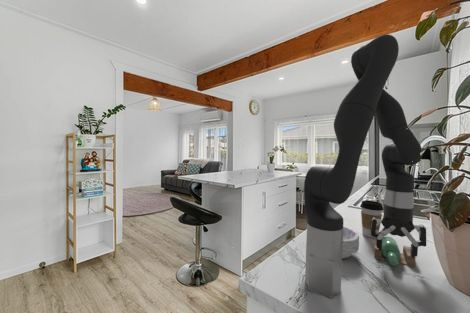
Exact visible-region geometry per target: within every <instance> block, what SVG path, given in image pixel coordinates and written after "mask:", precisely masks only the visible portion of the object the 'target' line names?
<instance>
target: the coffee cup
mask: <svg viewBox="0 0 470 313" xmlns="http://www.w3.org/2000/svg"><path fill="white" fill-rule="evenodd" d="M360 208H361V211H360V214H361V228H362V230H361V232H362V236H364V237H367V238H372V239H377V238H376V237H373V236H371V224H372V218H373V217H375V218H376V219H380V220H382V218H383V214H382V212H383V211H384V206H383V204H382V203H381V202H378V201H375V200H362V201H361V204H360ZM380 228H381V223H380V224H379V225H378V226H376V233H379V232H380Z"/></svg>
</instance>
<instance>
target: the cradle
mask: <svg viewBox="0 0 470 313" xmlns="http://www.w3.org/2000/svg"><path fill="white" fill-rule="evenodd" d="M376 241H377V239H373V255H374V259H375V258H376V259H380V260H384V261H388V262H389V260H388V259H386V258H385V257H384V255H383V252H382V251H380V250H379V248H377V246H376ZM410 252H411V246H409V245H408V246H406V245H403V249H402V252H400V254H401V257H400V259H399V260H398V264H401V265H404V266H405V265H406V266H410V267H414V268H415V267H416V256H415V258H412V257H411V255H410Z"/></svg>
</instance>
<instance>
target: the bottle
mask: <svg viewBox="0 0 470 313" xmlns="http://www.w3.org/2000/svg"><path fill="white" fill-rule="evenodd" d="M382 252H383V255H384V257H385V258H386V259H388V260H389V261H388V260H387V261H388V262H389V264H390V265H391V266H393V267H394V266H398V265H399V263H398V260H399V259H400V257H401V254H400V253H401V251H400V249H399V245H398V243H397V241H396V239H395V238H394V237H392V236H384V237H383V238H382Z"/></svg>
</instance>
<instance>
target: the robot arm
mask: <svg viewBox="0 0 470 313" xmlns="http://www.w3.org/2000/svg"><path fill="white" fill-rule="evenodd" d="M399 48H400V47H399V42H398V40H397V38H396V37H395V36H394V35H392V34H382V35H380V36H377V37H375V38H373V39H371V40H370V41H368V42H367V43H365V44H363V45H362V46H360V47H358V48H357V49H356V50H354V51H353V53H352V55H351V58H350V64H351V68H352V70H353V72H354V75H355V77H356V79H357V82H356V84H355V85H354V86H353V87H352V88H351V89H350V90H349V92H348V93H347V94H346V95H345V96H344V98H343V99H342V100H341V103H340V104H339V106H338V109H337V113H336V114H335V117H334V120H333V131H334V133H335V137H336V140H337V144H338V154H337V156H336V157H337V158H336V162H335V164H334V166H333V167H332V166H331V167H330V166H321V165H316V166H312V167H311V168H309V169H308V171H307V173H306V174H305V178H304V183H303V184H304V185H303V193H304V194H303V195H304V196H303V197H304V201H303V202H304V212H305V216H306V240H305V241H306V242H305V244H306V245H305V246H306V247H305V248H306V250H305V277H304V278H305V279H304V280H305V284H306V286H307V291H310V292H313V293H316V294H318V295H319V294H320V295H322V296H324V297H328V298H330V299H333V298H334V296H336V295H339V293H340V292H341V291H342V270H343V269H342V267H343V266H342V265H343V259H342V244H343V227H344V217H343V216H342V215H341V214H340V213H339V212H338V211H336V209H334V208H333V206H332V205H331V204H335V205H342V204H344V203H345V202H346V201H348V199H349V197H350V196H351V194H352V191H353V188H354V184H355V180H356V176H357V171H358V168H359V163H360V162H359V161H360V158H361V154H362V151H363V148H364V145H365V142H366V139H367V136H368V133H369V131H370V127H371V125H372V123H373V120H374V116H375V118H376V121H377V125H378V128H379V132H380V134H381V136H382V137H384V139H385V138H386V139H389V140H391V142H389V143H387V144H386V145H385V146H383V149H382V152H381V161H382V165H383V170H384V173H385V176H386V180H385V192H384V197H383V215H382V218H381V220H380V219H376V218H375V217H373V218H372V224H371V236H373V237H376V238H375V239H376V240H377V241H376V246H377V248H379V250H380V251H382V238H383V237H387V236H388V235H391V236H398V237H401V238H404V237H406V238H407V239H408V240H409V242H410V247H411V252H410V255H411V257H412V258H415V257H418V254H419V253H418V251H419V247H427V228H426V227H425V226H424V225H423V224H419V225H418V224H414V206H415V204H414V203H415V196H414V186H415V185H414V184H415V181H414V180H415V177H414V175H413V174H412V173H410V172H407V171H406V170H405V169H404V166H413V165H416V164H418V163H419V162H420V161H421V160H422V157H423V155H422V156H420V152H421V151H422V152H423V149H422V146H421V144H420V142H419V141H418V139H417V138H416V136H415V135H414V133H413V131H412V130H411V129H410V127H409V125H408V122H407V119H406V115H405V113H404V109H403V107H402V106H401V104H400V103H399V101H397V99H396V98H394V96H392V95H391V94H390V93H388V92H387V91H386V90H385V85H386V83H387V81H388V79H389V77H390V75H391V73H392V71H393V69H394V67H395V65H396V62H397V60H398V57H399V51H400V50H399ZM406 128H408V129H407V130H406ZM412 161H413V162H412ZM379 224H380V225H381V224H382V226H383V228H382V229H381V230H379V233H376V226H378V225H379ZM414 230H416V231H417V233H418V236H419V238H418V239H419V240H416V238H415V237H413V235H412V234H411V232H412V231H414ZM415 259H416V258H415Z"/></svg>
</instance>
